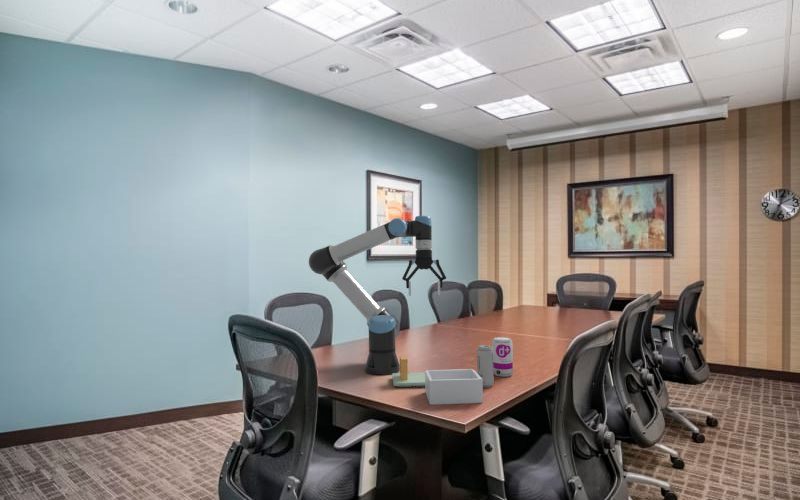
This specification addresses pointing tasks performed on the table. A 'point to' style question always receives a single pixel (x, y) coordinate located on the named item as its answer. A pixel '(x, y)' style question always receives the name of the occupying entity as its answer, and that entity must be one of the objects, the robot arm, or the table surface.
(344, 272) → the robot arm
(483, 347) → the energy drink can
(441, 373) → the tub
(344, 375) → the table surface
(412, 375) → the lid
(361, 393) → the table surface
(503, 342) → the supplement can
